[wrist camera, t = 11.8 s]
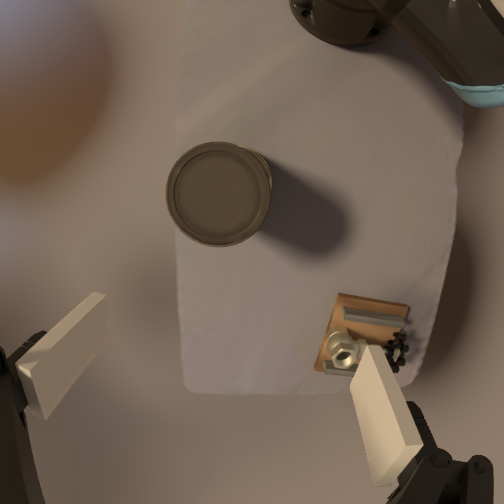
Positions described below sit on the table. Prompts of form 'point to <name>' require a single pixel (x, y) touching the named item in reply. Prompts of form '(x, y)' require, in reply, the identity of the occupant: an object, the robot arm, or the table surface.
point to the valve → (362, 348)
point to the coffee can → (219, 193)
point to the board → (361, 326)
